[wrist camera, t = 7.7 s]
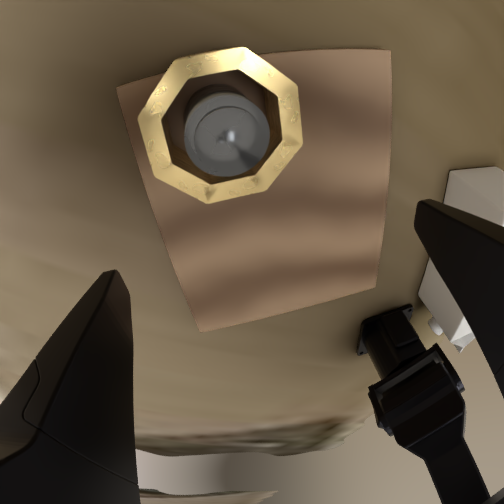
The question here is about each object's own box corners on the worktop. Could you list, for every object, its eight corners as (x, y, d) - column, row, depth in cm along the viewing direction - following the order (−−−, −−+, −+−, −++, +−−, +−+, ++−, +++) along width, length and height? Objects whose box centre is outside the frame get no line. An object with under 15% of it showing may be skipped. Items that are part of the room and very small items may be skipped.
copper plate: (370, 280, 28) (375, 287, 28) (199, 323, 27) (200, 332, 26) (381, 49, 16) (390, 50, 15) (119, 85, 15) (115, 88, 14)
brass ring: (289, 162, 19) (305, 182, 16) (168, 189, 18) (166, 214, 16) (274, 41, 14) (292, 41, 12) (135, 69, 14) (126, 73, 11)
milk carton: (547, 201, 17) (480, 342, 29) (496, 164, 23) (451, 301, 35) (507, 212, 17) (437, 363, 29) (449, 168, 22) (408, 318, 34)
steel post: (254, 138, 18) (277, 171, 14) (191, 152, 17) (195, 189, 13) (245, 78, 15) (267, 91, 11) (178, 92, 15) (175, 109, 11)
